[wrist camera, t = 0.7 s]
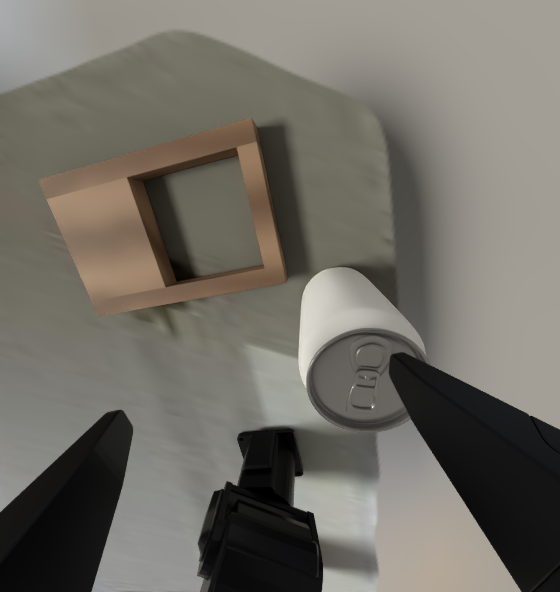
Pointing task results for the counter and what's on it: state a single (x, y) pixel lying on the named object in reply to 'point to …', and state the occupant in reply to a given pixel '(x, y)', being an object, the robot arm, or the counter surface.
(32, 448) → the counter surface
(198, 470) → the counter surface
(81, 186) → the wooden tray frame
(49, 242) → the counter surface
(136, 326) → the counter surface
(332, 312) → the can
